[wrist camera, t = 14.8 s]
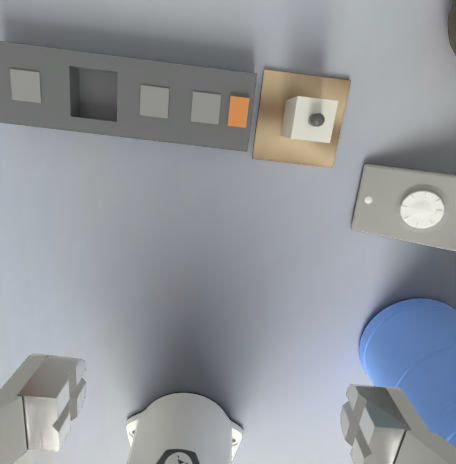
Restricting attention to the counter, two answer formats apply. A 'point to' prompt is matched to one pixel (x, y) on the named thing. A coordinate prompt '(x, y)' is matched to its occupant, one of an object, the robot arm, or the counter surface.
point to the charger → (309, 119)
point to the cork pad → (272, 111)
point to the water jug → (416, 358)
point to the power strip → (125, 96)
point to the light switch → (407, 205)
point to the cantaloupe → (452, 27)
